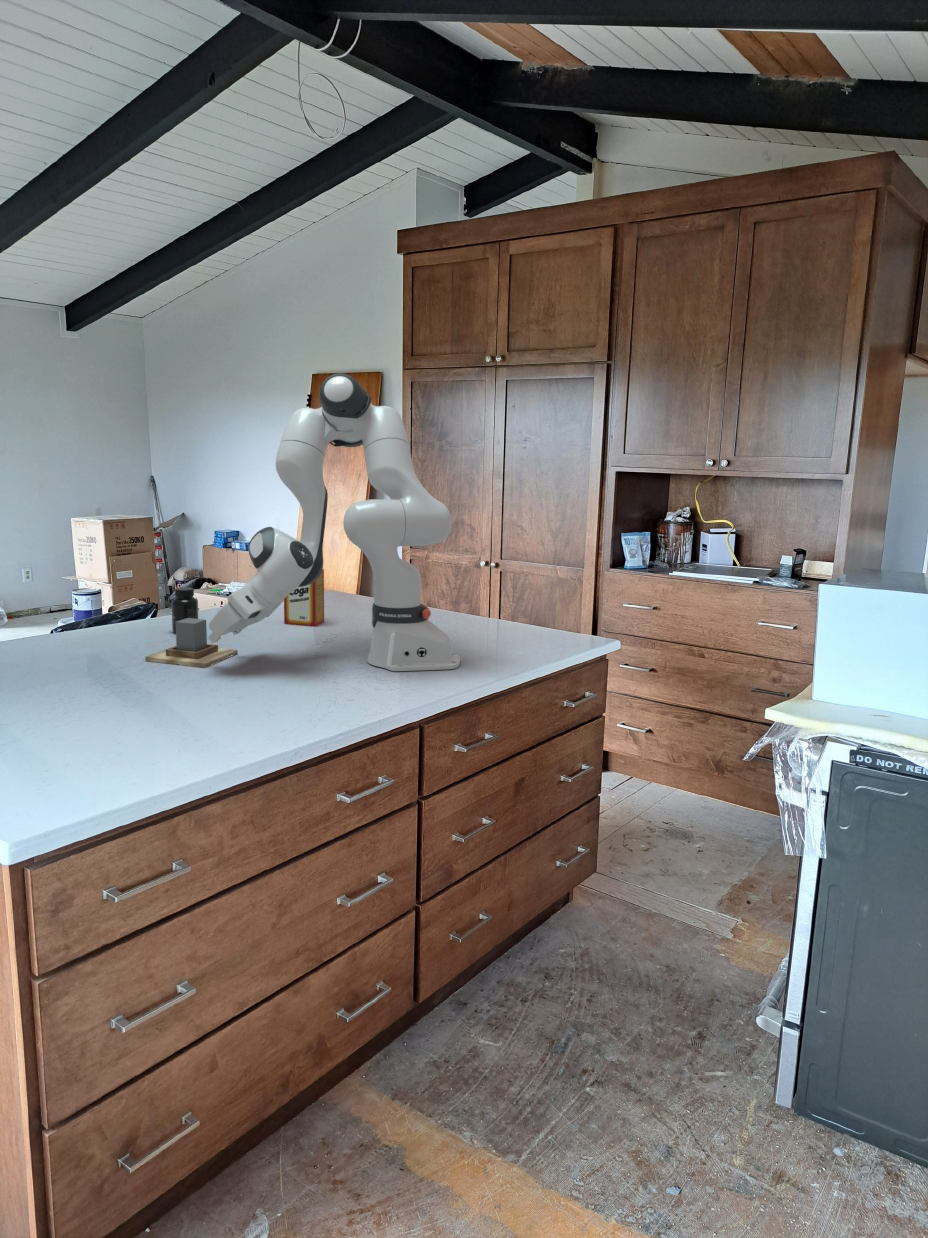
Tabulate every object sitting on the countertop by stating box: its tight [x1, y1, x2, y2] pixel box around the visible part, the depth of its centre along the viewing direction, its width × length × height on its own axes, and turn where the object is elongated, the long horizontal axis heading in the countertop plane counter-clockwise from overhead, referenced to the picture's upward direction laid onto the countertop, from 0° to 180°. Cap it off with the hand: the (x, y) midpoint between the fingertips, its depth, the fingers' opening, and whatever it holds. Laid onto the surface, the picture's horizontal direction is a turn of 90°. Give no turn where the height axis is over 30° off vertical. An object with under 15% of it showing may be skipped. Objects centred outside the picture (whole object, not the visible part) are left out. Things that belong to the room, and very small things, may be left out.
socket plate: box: [144, 643, 239, 668], centre depth 201 cm, size 16×14×2 cm
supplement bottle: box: [170, 586, 199, 634], centre depth 225 cm, size 7×7×12 cm
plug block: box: [175, 618, 208, 652], centre depth 200 cm, size 5×5×8 cm
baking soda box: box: [283, 568, 325, 627], centre depth 240 cm, size 10×6×16 cm
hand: (223, 636), depth 197 cm, fingers open, 8 cm apart
